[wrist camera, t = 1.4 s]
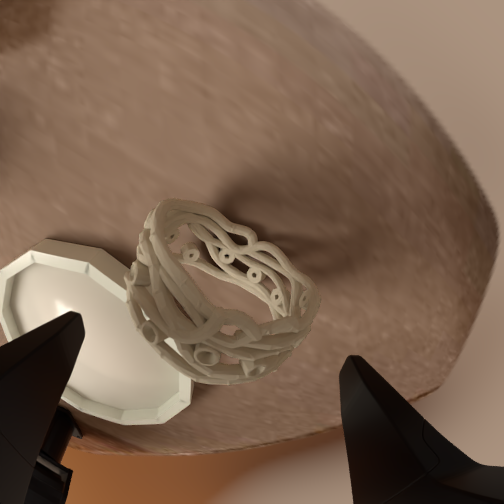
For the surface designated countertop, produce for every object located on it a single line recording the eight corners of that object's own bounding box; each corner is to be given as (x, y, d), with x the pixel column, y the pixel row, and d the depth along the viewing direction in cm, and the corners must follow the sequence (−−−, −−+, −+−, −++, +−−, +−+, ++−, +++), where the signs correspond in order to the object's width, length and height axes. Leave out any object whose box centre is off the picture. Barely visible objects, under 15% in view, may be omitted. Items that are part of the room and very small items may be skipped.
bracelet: (276, 302, 18) (285, 415, 10) (152, 241, 16) (87, 335, 9) (314, 248, 16) (352, 353, 9) (180, 177, 15) (111, 241, 7)
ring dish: (192, 424, 24) (190, 440, 22) (39, 379, 23) (32, 391, 21) (202, 265, 17) (196, 281, 15) (-9, 227, 16) (-24, 237, 14)
